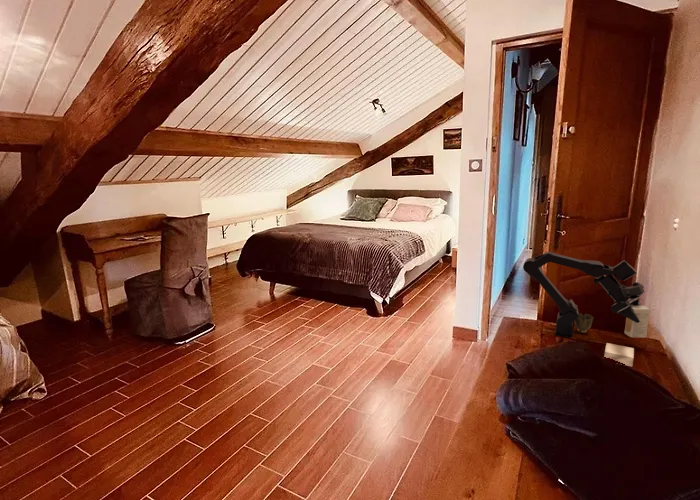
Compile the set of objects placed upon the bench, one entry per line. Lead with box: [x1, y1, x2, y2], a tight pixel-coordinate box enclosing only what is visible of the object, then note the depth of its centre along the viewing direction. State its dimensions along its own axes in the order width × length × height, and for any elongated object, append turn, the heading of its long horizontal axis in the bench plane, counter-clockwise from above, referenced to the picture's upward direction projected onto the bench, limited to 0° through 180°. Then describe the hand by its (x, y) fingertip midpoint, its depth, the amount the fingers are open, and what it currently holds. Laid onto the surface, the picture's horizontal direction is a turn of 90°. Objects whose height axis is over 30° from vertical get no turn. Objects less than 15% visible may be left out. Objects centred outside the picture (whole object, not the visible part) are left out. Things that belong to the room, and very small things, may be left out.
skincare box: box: [623, 305, 651, 338], centre depth 157 cm, size 6×4×12 cm
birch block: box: [603, 342, 635, 368], centre depth 152 cm, size 9×9×4 cm
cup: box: [573, 312, 594, 334], centre depth 176 cm, size 8×7×8 cm
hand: (641, 319), depth 156 cm, fingers closed on skincare box, 7 cm apart
